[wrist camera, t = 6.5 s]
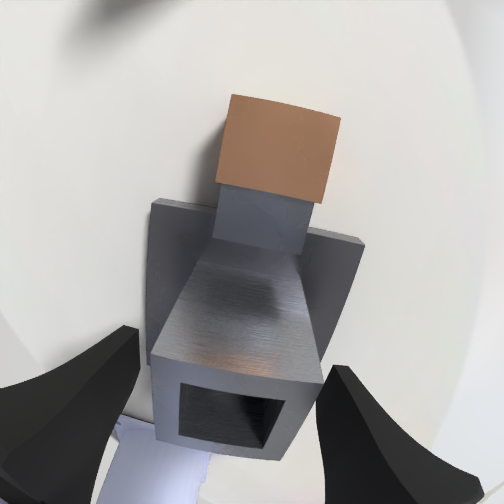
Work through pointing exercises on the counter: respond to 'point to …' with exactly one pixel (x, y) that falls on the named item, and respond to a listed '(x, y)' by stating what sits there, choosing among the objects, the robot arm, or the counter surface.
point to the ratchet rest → (258, 216)
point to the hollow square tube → (235, 364)
